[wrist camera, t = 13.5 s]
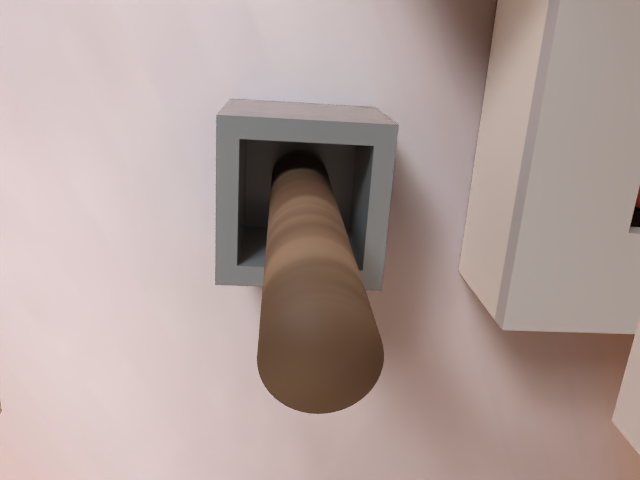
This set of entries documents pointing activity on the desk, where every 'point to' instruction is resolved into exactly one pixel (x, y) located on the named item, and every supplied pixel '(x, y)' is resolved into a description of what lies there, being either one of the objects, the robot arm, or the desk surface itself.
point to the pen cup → (341, 165)
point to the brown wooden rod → (313, 297)
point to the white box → (558, 169)
